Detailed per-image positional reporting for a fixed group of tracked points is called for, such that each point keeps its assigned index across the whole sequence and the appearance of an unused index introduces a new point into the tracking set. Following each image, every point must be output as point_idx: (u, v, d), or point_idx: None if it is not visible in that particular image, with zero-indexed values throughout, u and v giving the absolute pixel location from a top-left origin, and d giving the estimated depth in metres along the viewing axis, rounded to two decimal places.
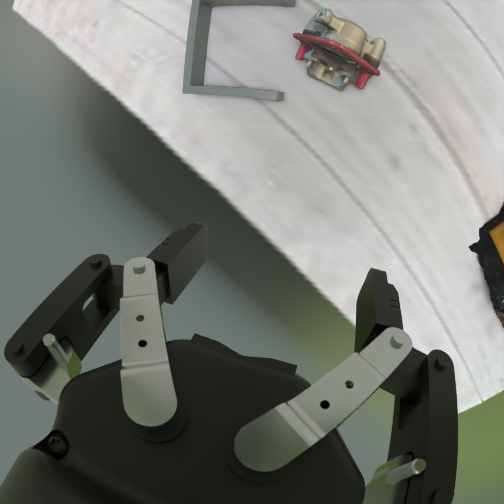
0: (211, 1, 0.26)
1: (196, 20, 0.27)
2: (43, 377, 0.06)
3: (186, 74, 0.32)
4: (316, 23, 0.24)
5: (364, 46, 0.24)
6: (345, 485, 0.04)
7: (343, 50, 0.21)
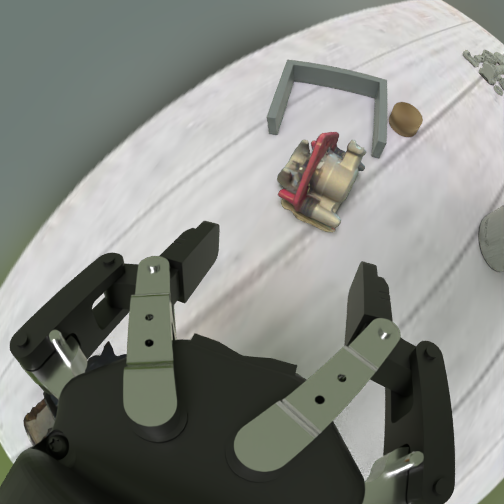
0: (378, 92, 0.34)
1: (358, 76, 0.34)
2: (47, 372, 0.06)
3: (305, 63, 0.36)
4: None
5: (327, 201, 0.31)
6: (344, 484, 0.04)
7: (314, 146, 0.25)
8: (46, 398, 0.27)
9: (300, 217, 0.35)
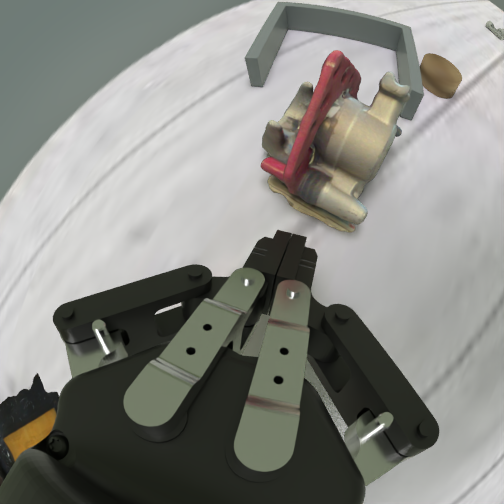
0: (401, 39, 0.20)
1: (373, 19, 0.20)
2: (77, 351, 0.07)
3: (301, 4, 0.22)
4: None
5: (345, 177, 0.17)
6: (336, 477, 0.04)
7: (322, 69, 0.12)
8: None
9: (298, 205, 0.21)
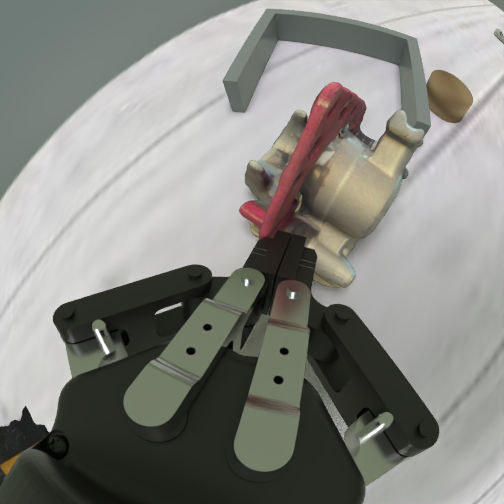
0: (405, 53, 0.19)
1: (374, 29, 0.18)
2: (77, 351, 0.07)
3: (293, 12, 0.20)
4: None
5: (334, 233, 0.16)
6: (336, 477, 0.04)
7: (312, 110, 0.10)
8: None
9: None
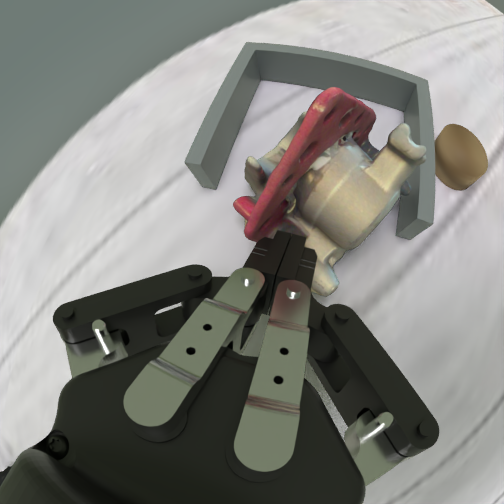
0: (413, 101, 0.17)
1: (377, 70, 0.17)
2: (78, 351, 0.07)
3: (277, 46, 0.19)
4: None
5: (323, 240, 0.16)
6: (336, 477, 0.04)
7: (307, 113, 0.10)
8: None
9: None
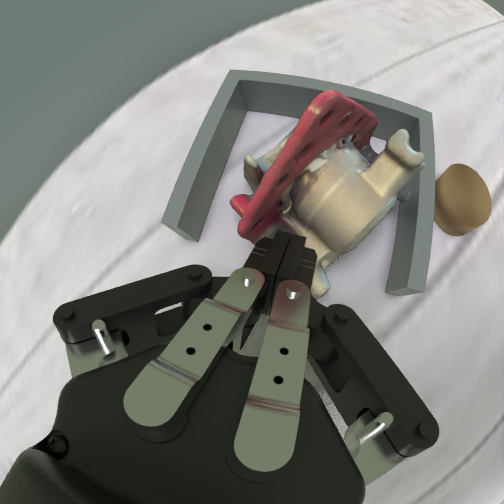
0: (414, 139, 0.17)
1: (375, 103, 0.16)
2: (78, 351, 0.07)
3: (264, 75, 0.18)
4: None
5: (316, 242, 0.16)
6: (336, 476, 0.04)
7: (302, 114, 0.10)
8: None
9: None
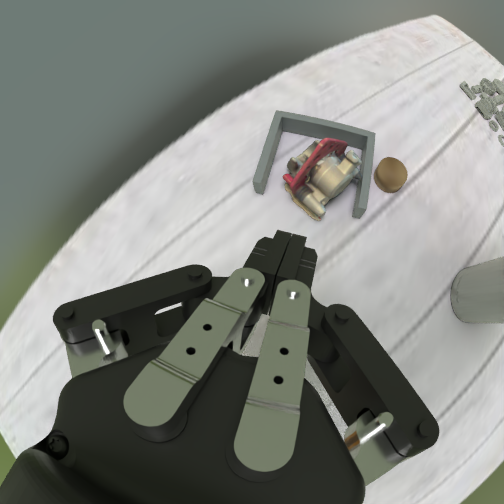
0: (365, 146, 0.39)
1: (346, 130, 0.38)
2: (77, 351, 0.07)
3: (293, 115, 0.40)
4: None
5: (320, 193, 0.37)
6: (336, 476, 0.04)
7: (317, 146, 0.32)
8: None
9: (295, 200, 0.41)
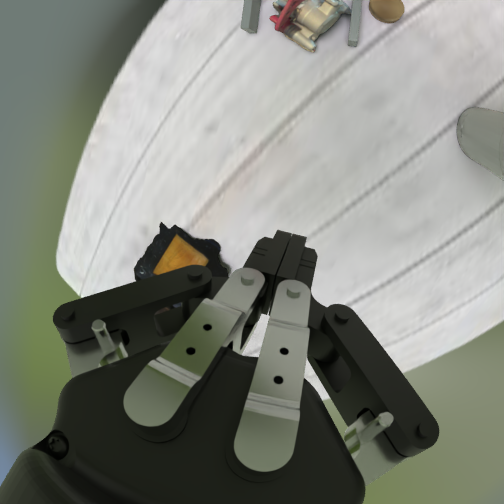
0: None
1: None
2: (78, 351, 0.07)
3: None
4: None
5: (307, 30, 0.28)
6: (336, 477, 0.04)
7: None
8: (137, 280, 0.59)
9: (288, 35, 0.31)
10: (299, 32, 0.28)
